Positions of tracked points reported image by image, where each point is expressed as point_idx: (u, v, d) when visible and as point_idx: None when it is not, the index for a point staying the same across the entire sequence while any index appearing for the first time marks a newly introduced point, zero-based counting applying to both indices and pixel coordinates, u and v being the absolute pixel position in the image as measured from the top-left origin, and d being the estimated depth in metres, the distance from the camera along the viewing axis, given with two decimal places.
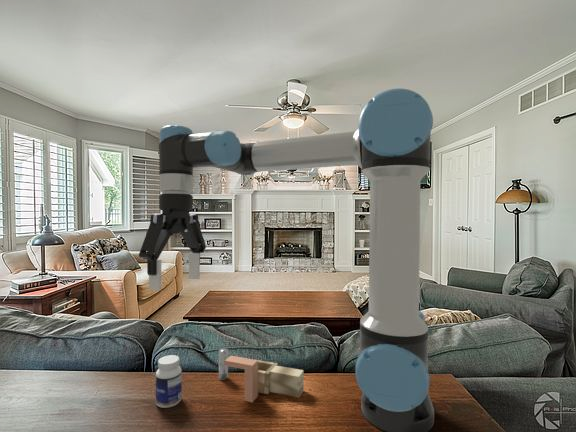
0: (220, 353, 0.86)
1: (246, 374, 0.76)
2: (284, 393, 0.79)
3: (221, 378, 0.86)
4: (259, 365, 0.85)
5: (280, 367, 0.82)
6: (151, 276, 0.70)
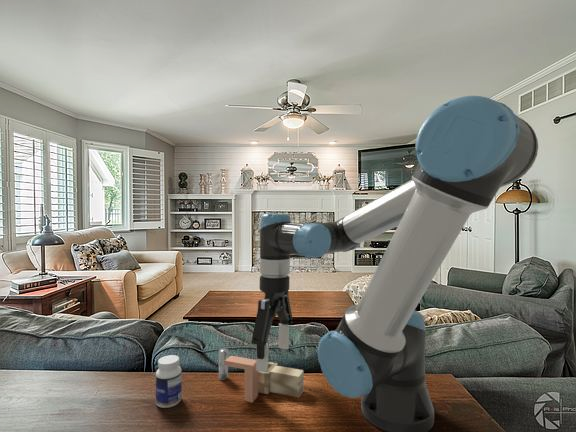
0: (220, 353, 0.86)
1: (246, 374, 0.76)
2: (284, 393, 0.79)
3: (221, 378, 0.86)
4: None
5: (280, 367, 0.82)
6: None
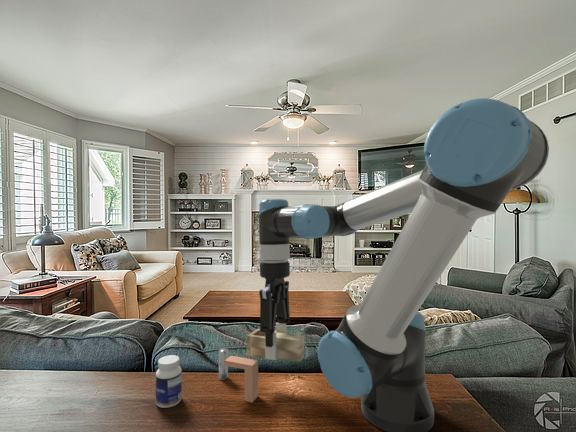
0: (220, 353, 0.86)
1: (246, 374, 0.76)
2: (285, 358, 0.78)
3: (221, 378, 0.86)
4: (260, 333, 0.85)
5: (281, 333, 0.82)
6: (267, 347, 0.78)
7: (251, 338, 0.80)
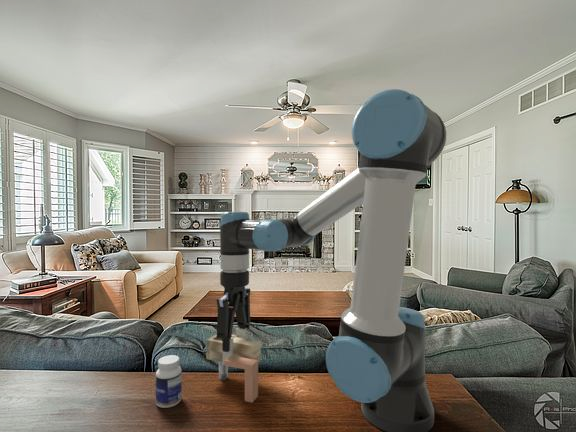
0: None
1: (246, 374, 0.76)
2: None
3: (221, 378, 0.86)
4: None
5: (239, 338, 0.86)
6: None
7: (210, 342, 0.85)
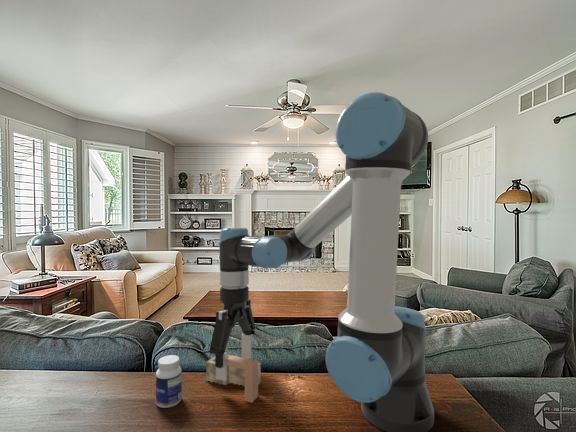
0: None
1: (246, 374, 0.76)
2: (241, 384, 0.83)
3: None
4: None
5: None
6: None
7: (210, 364, 0.85)
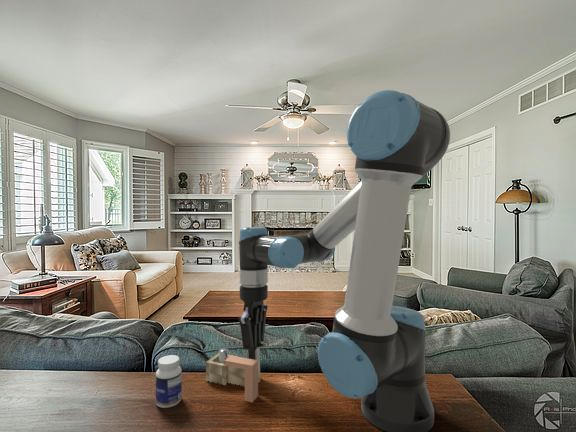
0: (220, 353, 0.86)
1: (246, 374, 0.76)
2: (240, 384, 0.83)
3: None
4: None
5: None
6: None
7: (210, 364, 0.85)
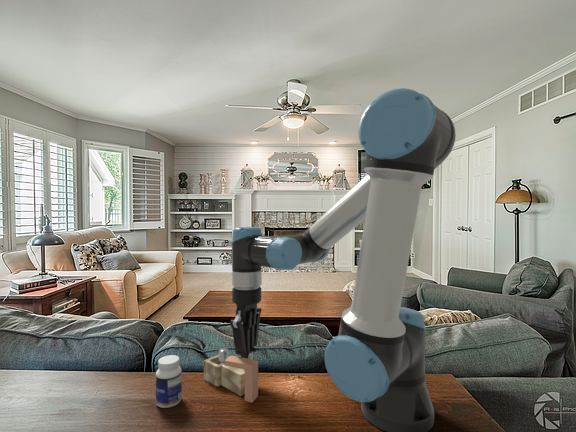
0: (220, 353, 0.86)
1: (246, 374, 0.76)
2: (230, 389, 0.81)
3: None
4: None
5: None
6: None
7: (206, 363, 0.85)
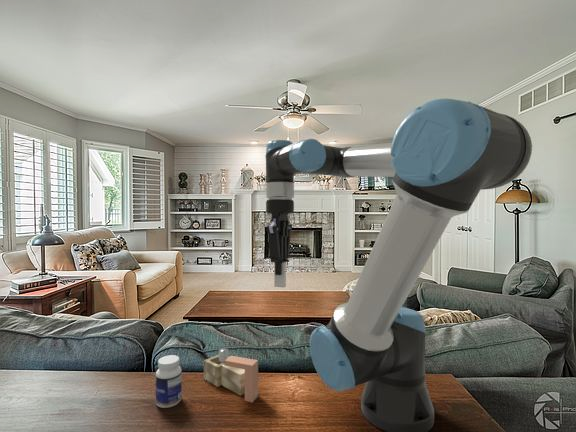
0: (220, 353, 0.86)
1: (246, 374, 0.76)
2: (230, 388, 0.81)
3: None
4: None
5: None
6: (276, 276, 0.87)
7: (206, 363, 0.85)
